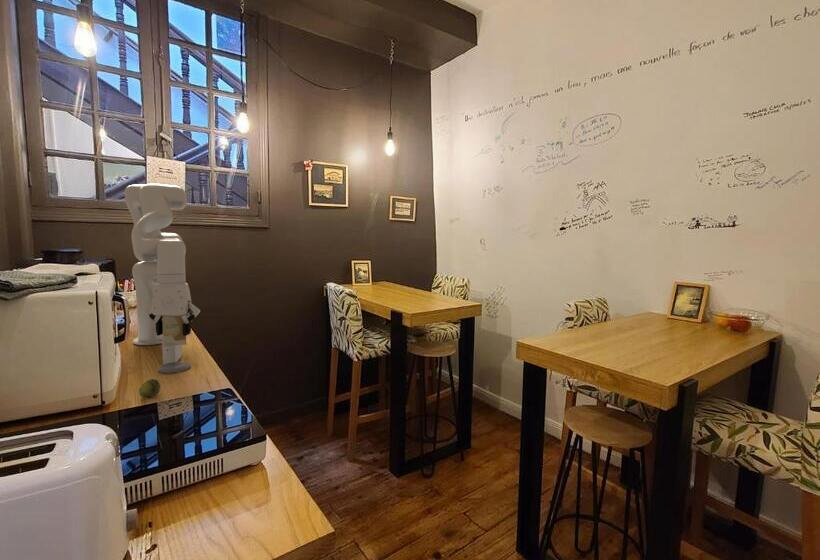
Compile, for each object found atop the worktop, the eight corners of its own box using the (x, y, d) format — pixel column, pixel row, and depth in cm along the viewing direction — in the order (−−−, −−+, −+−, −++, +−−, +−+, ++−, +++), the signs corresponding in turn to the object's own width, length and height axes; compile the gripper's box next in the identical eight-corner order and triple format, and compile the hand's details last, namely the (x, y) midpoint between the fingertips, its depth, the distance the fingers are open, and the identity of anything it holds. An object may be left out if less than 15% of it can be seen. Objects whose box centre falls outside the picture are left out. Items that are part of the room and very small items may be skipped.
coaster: (167, 364, 133) (167, 361, 133) (195, 364, 133) (195, 362, 133) (152, 373, 124) (151, 371, 124) (182, 374, 124) (182, 371, 124)
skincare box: (164, 347, 124) (162, 308, 123) (162, 344, 128) (160, 306, 126) (187, 344, 128) (186, 306, 127) (185, 341, 132) (184, 304, 130)
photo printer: (176, 365, 132) (174, 328, 131) (161, 365, 131) (159, 328, 129) (183, 355, 142) (182, 321, 140) (169, 356, 141) (168, 321, 139)
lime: (137, 401, 104) (136, 382, 104) (146, 393, 109) (145, 376, 108) (155, 400, 105) (155, 382, 104) (164, 393, 110) (163, 375, 109)
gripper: (135, 279, 121) (137, 337, 123) (194, 281, 122) (196, 338, 124) (149, 277, 128) (152, 331, 130) (205, 278, 129) (207, 332, 131)
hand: (173, 334), depth 127 cm, fingers closed on skincare box, 7 cm apart
